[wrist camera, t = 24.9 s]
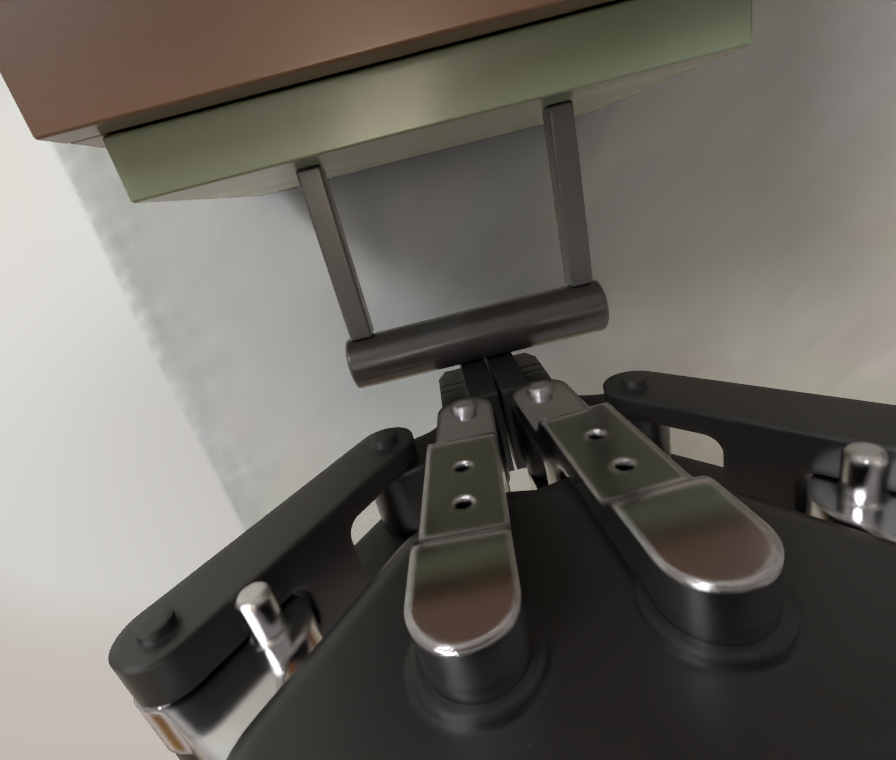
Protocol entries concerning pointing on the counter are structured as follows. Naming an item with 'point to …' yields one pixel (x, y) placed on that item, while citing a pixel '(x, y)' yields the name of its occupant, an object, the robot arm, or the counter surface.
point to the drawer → (432, 129)
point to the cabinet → (212, 51)
